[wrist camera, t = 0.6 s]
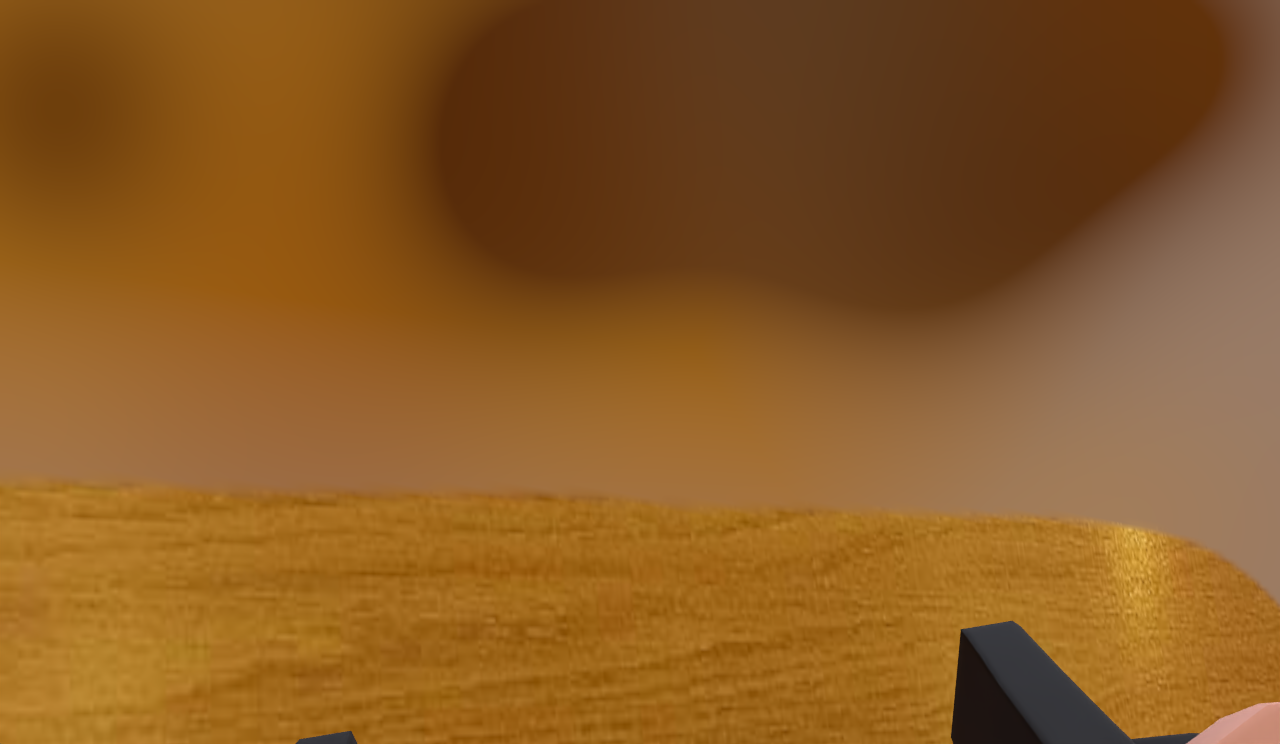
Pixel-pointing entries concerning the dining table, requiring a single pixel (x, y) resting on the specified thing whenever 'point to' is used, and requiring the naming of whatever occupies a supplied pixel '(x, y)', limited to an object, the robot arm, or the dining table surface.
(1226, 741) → the coffee jar
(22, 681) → the dining table surface
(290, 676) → the dining table surface
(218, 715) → the dining table surface
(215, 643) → the dining table surface
